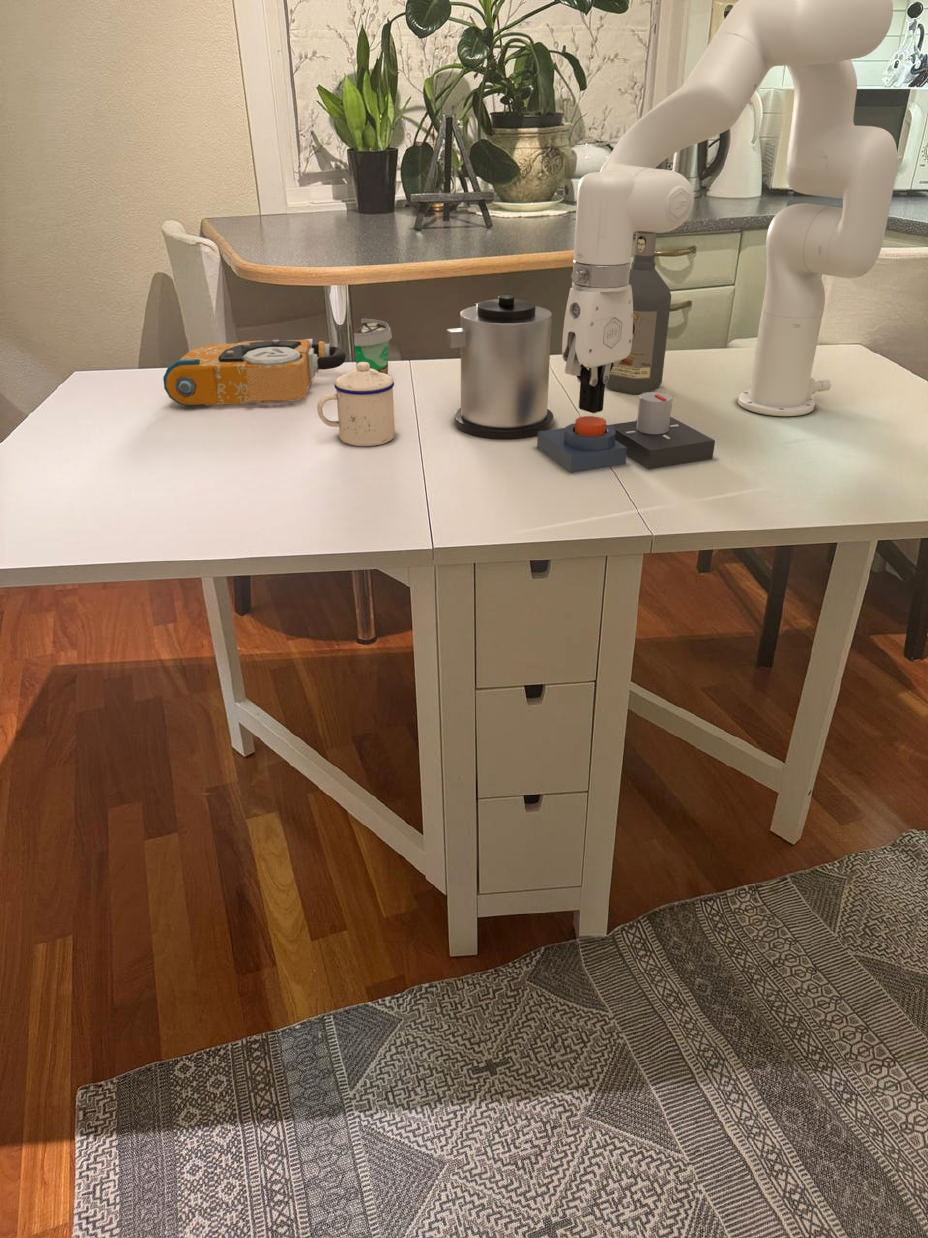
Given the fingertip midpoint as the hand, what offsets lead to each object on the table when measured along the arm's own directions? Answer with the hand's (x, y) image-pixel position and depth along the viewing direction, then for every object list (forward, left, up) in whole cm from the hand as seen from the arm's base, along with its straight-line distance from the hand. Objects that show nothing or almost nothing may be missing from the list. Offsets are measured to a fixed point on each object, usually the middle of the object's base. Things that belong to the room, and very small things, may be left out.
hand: (590, 409), depth 131 cm
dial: (-11, -1, -5) cm, 12 cm away
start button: (0, 0, -3) cm, 3 cm away
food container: (+17, -51, -8) cm, 54 cm away
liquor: (-25, -30, -8) cm, 40 cm away
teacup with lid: (+29, -22, -8) cm, 37 cm away
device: (+38, -53, -8) cm, 65 cm away
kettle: (+6, -21, -8) cm, 23 cm away
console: (-12, +1, -8) cm, 14 cm away
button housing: (0, -2, -8) cm, 8 cm away
